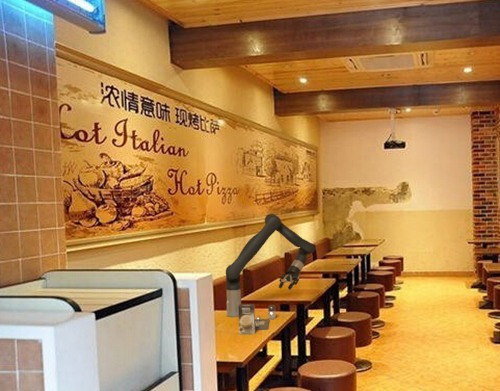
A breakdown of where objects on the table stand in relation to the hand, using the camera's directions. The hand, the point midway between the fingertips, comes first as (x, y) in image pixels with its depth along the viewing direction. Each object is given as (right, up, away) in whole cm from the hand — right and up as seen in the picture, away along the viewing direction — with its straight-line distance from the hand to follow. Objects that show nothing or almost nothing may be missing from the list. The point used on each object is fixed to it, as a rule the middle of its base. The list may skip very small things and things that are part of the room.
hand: (284, 288), depth 376 cm
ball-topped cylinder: (-8, -18, -8) cm, 21 cm away
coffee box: (-24, -19, -43) cm, 52 cm away
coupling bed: (-17, -18, -24) cm, 35 cm away
